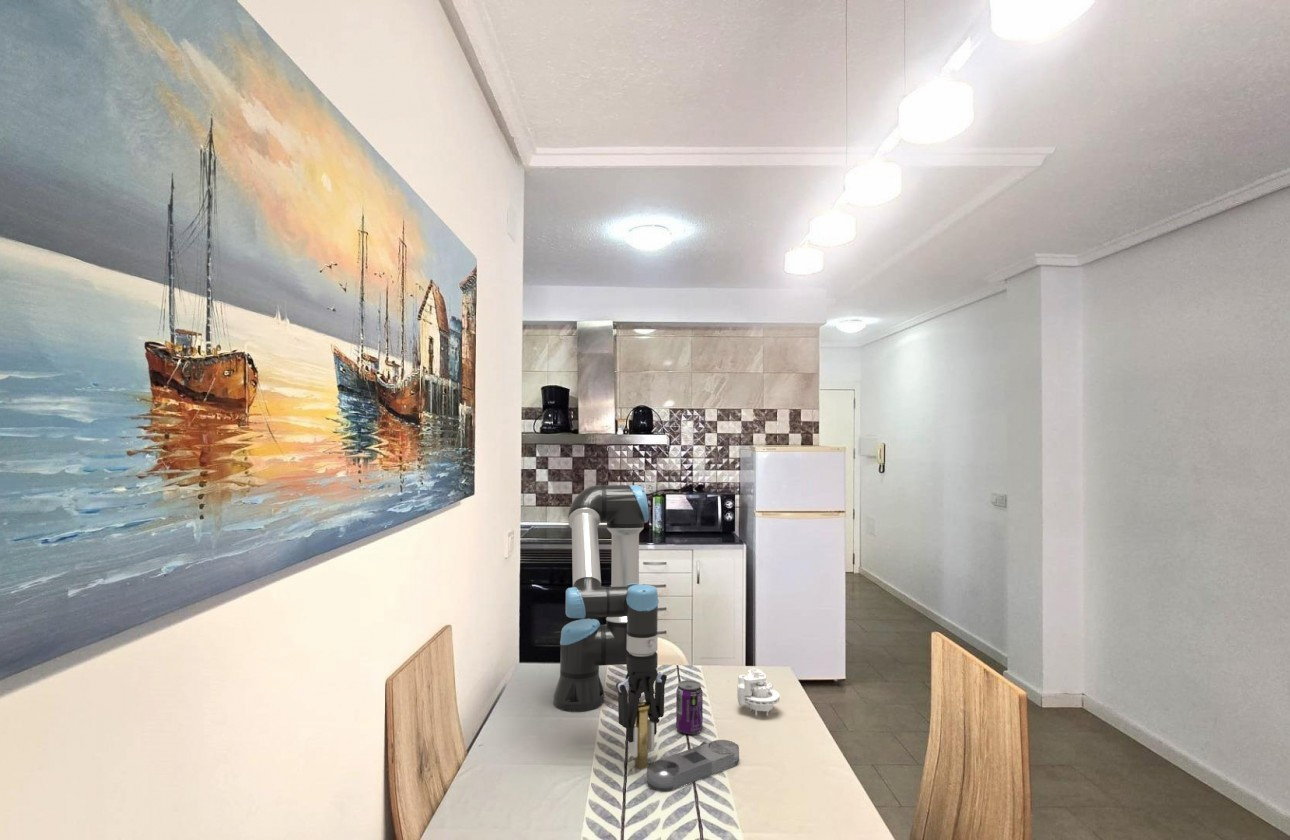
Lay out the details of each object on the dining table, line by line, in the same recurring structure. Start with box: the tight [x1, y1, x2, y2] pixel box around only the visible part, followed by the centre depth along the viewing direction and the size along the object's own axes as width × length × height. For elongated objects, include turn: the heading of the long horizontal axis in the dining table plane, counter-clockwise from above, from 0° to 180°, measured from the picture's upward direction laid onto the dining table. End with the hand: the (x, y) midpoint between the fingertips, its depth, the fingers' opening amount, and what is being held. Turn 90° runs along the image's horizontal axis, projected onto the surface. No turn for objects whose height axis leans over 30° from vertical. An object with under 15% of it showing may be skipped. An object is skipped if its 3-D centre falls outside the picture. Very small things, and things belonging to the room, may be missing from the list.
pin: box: [634, 700, 650, 769], centre depth 141 cm, size 4×4×14 cm
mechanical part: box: [736, 667, 780, 717], centre depth 171 cm, size 11×12×12 cm
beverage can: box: [675, 679, 704, 735], centre depth 159 cm, size 7×7×12 cm
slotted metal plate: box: [646, 739, 740, 793], centre depth 138 cm, size 7×26×3 cm, turn 124°
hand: (641, 751), depth 140 cm, fingers open, 4 cm apart
